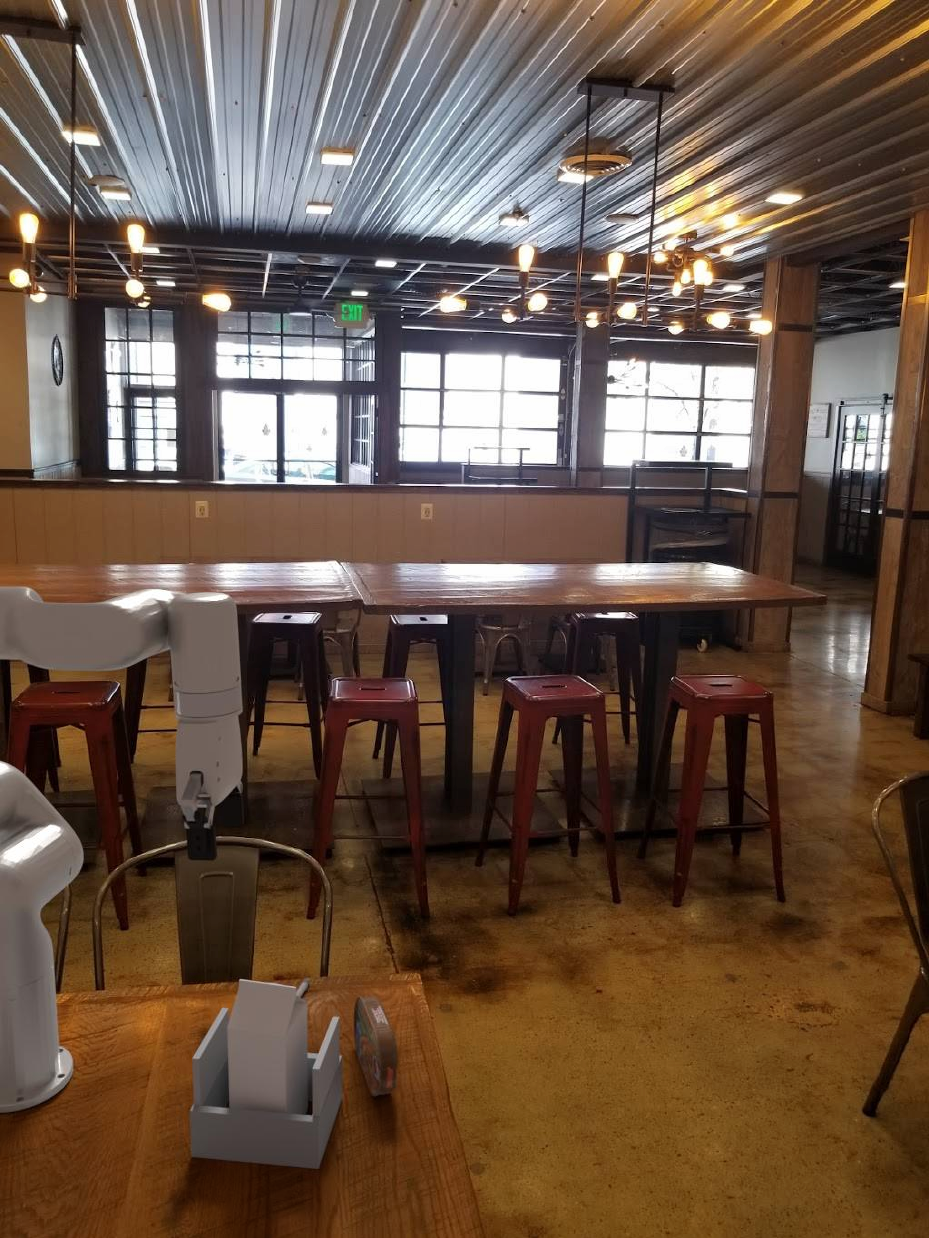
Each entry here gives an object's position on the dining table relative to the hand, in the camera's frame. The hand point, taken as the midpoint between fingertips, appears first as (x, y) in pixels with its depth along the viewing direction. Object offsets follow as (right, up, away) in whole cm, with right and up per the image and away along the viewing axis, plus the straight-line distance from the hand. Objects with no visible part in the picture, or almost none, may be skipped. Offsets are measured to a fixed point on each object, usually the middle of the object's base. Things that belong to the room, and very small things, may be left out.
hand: (217, 841), depth 113 cm
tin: (+17, -34, +14) cm, 40 cm away
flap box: (+6, -35, +3) cm, 36 cm away
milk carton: (+6, -35, +3) cm, 36 cm away
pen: (+4, -31, +27) cm, 41 cm away
